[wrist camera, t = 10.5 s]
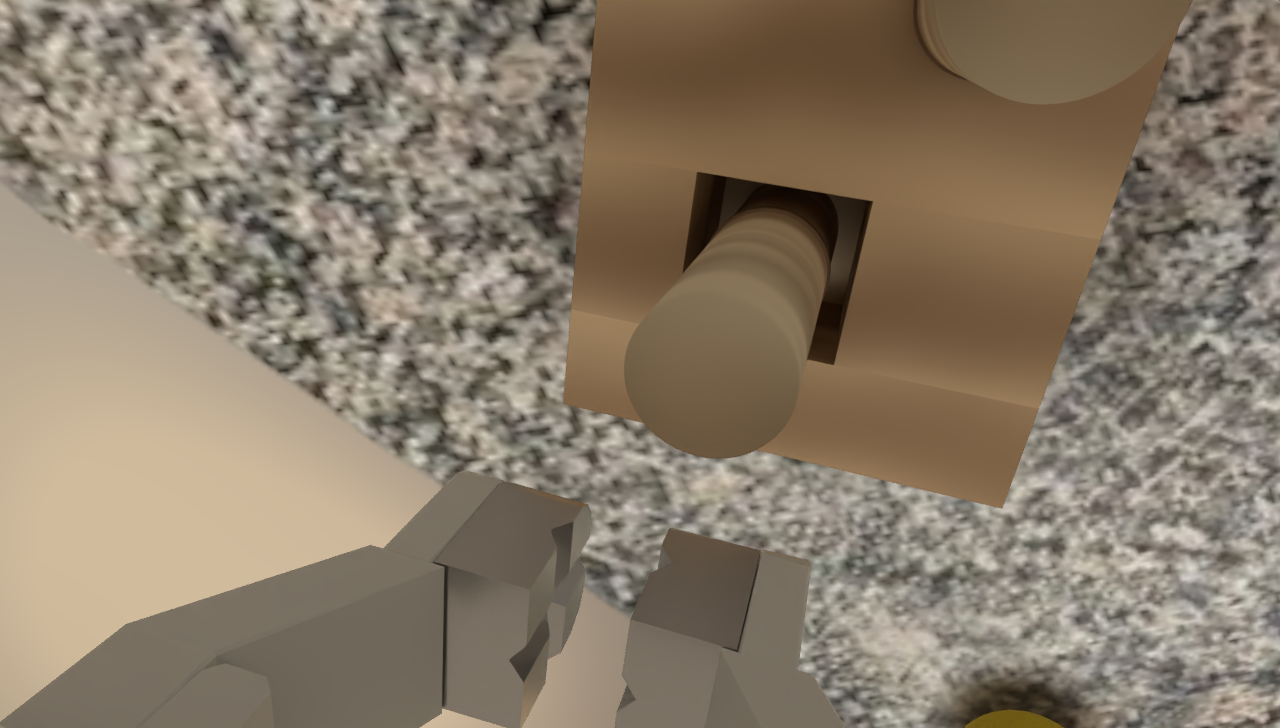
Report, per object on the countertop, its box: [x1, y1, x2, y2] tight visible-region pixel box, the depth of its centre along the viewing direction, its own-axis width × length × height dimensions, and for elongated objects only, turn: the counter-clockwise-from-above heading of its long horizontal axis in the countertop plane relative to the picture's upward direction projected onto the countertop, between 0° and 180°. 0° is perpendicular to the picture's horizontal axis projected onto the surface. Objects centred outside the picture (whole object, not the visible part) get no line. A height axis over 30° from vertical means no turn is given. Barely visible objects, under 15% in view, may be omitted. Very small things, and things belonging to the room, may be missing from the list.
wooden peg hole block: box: [563, 0, 1192, 508], centre depth 18 cm, size 14×12×14 cm
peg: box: [624, 183, 839, 459], centre depth 19 cm, size 3×3×12 cm
